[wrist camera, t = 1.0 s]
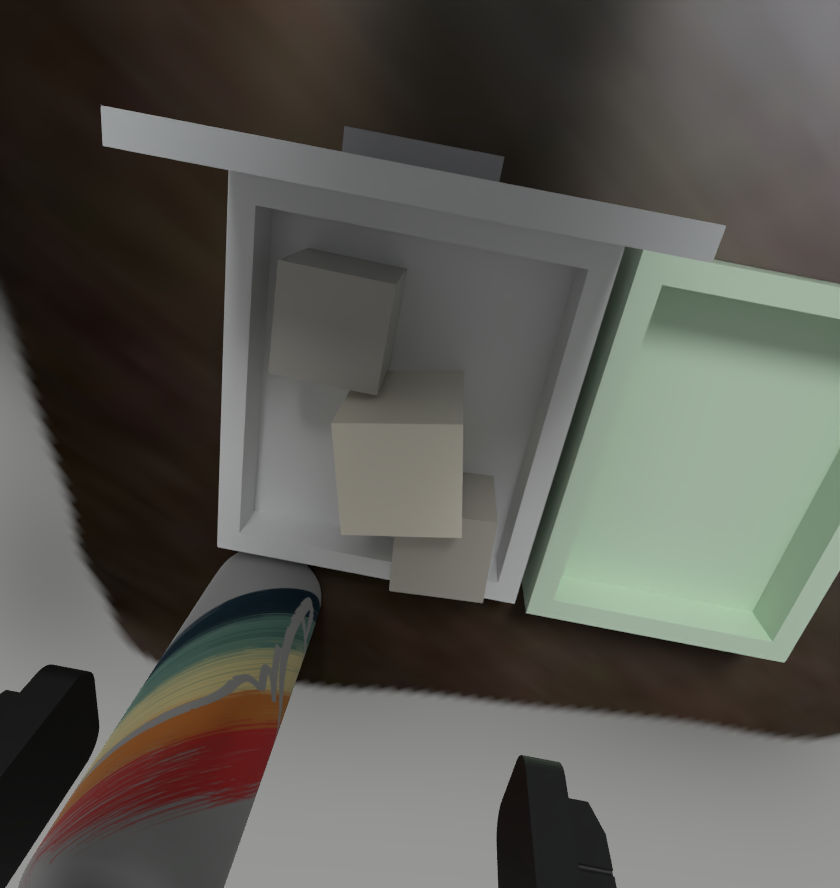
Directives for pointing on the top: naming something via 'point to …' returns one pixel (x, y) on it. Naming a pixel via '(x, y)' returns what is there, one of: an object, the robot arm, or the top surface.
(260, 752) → the lotion bottle
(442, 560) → the pale grey block
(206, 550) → the top surface
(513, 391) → the grey bin
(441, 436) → the beige block
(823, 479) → the green bin
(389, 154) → the grey drawer face panel
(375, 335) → the grey cubic sharp-edged block
